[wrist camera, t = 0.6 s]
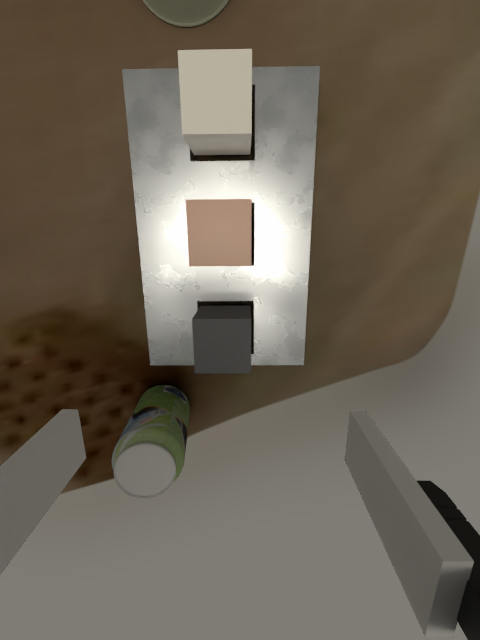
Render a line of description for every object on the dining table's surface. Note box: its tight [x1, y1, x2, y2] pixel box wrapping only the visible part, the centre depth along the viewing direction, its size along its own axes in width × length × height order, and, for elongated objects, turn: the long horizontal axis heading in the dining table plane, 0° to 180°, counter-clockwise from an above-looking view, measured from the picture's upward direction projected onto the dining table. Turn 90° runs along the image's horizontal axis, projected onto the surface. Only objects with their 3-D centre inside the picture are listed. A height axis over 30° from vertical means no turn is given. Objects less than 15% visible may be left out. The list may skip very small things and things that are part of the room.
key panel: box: [122, 66, 320, 365], centre depth 28 cm, size 16×26×3 cm, turn 0°
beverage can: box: [112, 385, 190, 498], centre depth 29 cm, size 6×7×12 cm
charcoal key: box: [192, 306, 251, 373], centre depth 26 cm, size 5×5×5 cm
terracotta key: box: [186, 199, 252, 266], centre depth 24 cm, size 5×5×5 cm
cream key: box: [178, 49, 252, 155], centre depth 22 cm, size 5×5×5 cm
